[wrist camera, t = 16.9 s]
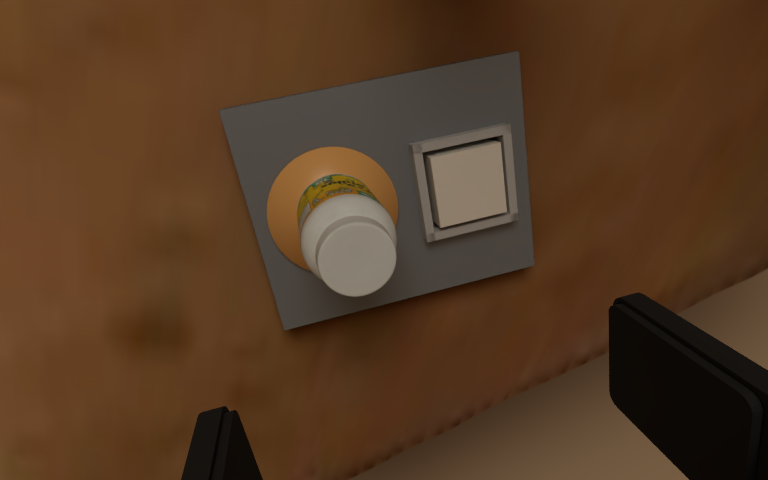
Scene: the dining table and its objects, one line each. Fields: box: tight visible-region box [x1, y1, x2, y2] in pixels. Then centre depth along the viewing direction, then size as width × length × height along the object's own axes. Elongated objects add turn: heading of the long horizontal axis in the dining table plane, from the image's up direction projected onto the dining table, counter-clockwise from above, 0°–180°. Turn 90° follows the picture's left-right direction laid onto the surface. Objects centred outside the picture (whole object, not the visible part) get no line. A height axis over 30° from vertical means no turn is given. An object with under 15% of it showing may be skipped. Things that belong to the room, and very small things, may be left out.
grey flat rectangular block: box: [219, 51, 535, 330], centre depth 33 cm, size 20×16×3 cm
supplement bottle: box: [297, 173, 397, 297], centre depth 27 cm, size 5×5×10 cm
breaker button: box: [422, 138, 507, 228], centre depth 34 cm, size 5×5×3 cm
